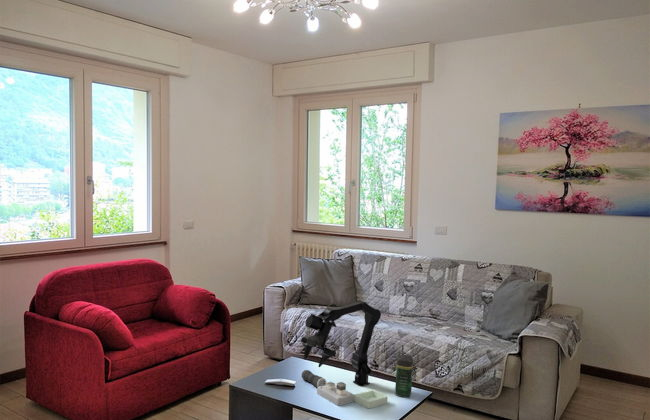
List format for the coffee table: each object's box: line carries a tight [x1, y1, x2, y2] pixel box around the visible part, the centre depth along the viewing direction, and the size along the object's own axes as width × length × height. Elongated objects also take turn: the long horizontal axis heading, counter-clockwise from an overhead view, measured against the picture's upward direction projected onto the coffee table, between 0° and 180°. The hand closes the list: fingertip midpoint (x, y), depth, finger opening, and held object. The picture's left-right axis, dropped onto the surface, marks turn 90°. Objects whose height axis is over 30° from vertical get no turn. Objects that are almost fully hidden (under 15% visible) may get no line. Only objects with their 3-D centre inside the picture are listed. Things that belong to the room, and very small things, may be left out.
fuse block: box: [316, 384, 355, 406], centre depth 241 cm, size 10×16×3 cm, turn 37°
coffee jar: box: [394, 354, 414, 398], centre depth 249 cm, size 10×8×19 cm
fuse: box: [326, 381, 336, 390], centre depth 244 cm, size 3×3×6 cm
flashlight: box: [301, 369, 327, 388], centre depth 257 cm, size 15×5×5 cm, turn 36°
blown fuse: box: [336, 381, 347, 396], centre depth 238 cm, size 3×3×8 cm
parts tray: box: [353, 389, 389, 409], centre depth 238 cm, size 12×10×3 cm
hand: (311, 363), depth 246 cm, fingers open, 9 cm apart
